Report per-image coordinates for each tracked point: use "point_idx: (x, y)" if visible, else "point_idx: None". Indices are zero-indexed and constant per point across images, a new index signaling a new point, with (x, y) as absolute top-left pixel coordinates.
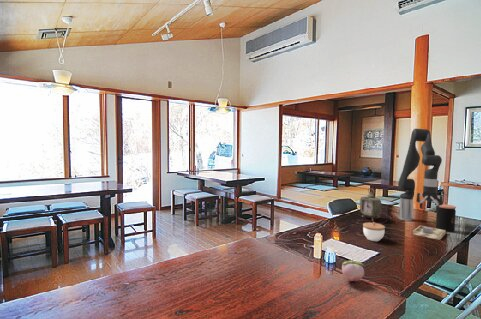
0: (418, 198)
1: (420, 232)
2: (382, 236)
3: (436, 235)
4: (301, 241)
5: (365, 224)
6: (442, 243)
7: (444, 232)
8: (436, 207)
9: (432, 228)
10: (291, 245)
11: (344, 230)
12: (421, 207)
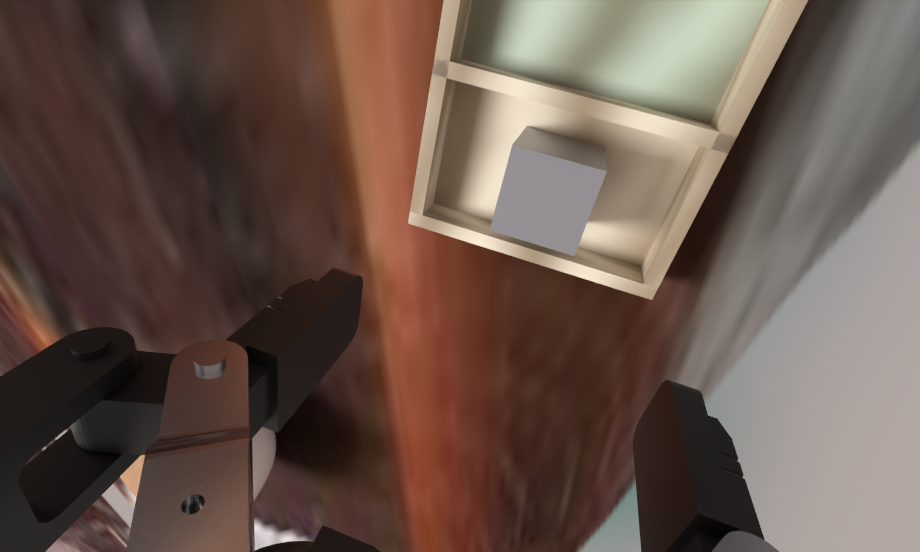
0: (43, 540)
1: (476, 243)
2: (272, 466)
3: (621, 280)
4: (87, 512)
5: (135, 489)
6: (654, 330)
7: (787, 32)
8: (648, 523)
9: (597, 195)
10: (99, 546)
11: (68, 321)
12: (332, 354)
